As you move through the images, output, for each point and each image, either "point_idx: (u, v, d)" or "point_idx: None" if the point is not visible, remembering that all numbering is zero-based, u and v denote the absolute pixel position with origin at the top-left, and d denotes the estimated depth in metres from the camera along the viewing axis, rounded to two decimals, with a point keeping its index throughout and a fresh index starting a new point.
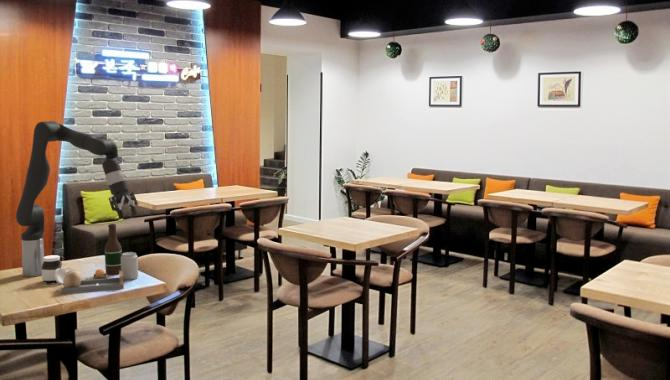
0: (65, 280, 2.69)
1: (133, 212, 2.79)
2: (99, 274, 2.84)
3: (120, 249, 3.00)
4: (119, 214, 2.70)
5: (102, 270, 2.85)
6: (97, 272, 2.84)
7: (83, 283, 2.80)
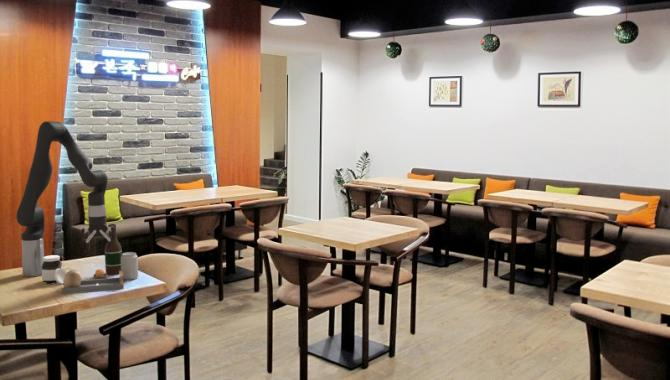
0: (65, 280, 2.69)
1: (108, 245, 2.86)
2: (99, 274, 2.84)
3: (120, 249, 3.00)
4: (86, 246, 2.83)
5: (102, 270, 2.85)
6: (97, 272, 2.84)
7: (83, 283, 2.80)
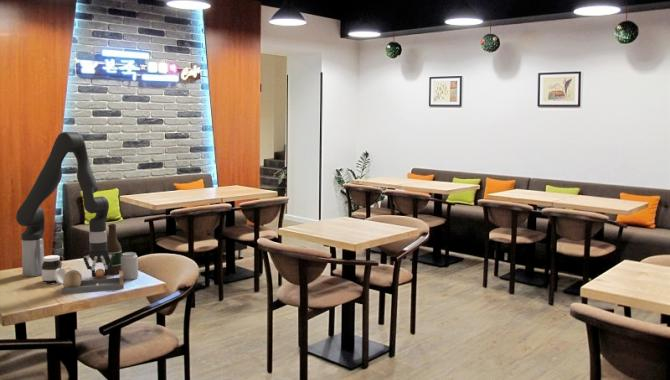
0: (65, 280, 2.69)
1: None
2: (99, 274, 2.84)
3: (120, 249, 3.00)
4: None
5: (102, 270, 2.85)
6: (97, 272, 2.84)
7: (83, 283, 2.80)
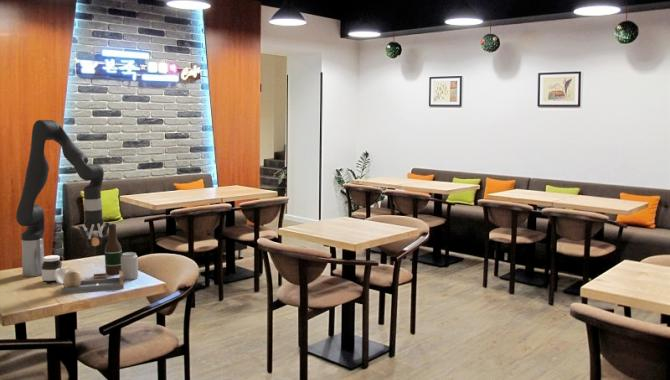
0: (65, 280, 2.69)
1: None
2: (96, 242, 2.81)
3: (120, 249, 3.00)
4: (87, 242, 2.80)
5: None
6: (93, 241, 2.81)
7: (83, 283, 2.80)
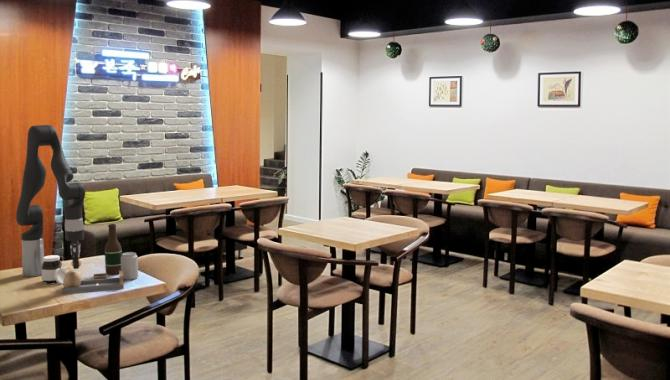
0: (65, 280, 2.69)
1: None
2: None
3: (120, 249, 3.00)
4: (76, 264, 2.70)
5: None
6: (79, 261, 2.73)
7: (83, 283, 2.80)
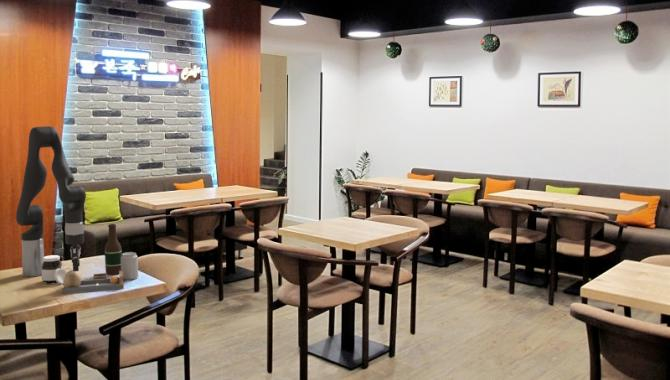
0: (65, 280, 2.69)
1: None
2: (110, 282, 2.79)
3: (120, 249, 3.00)
4: (75, 266, 2.68)
5: None
6: None
7: (83, 283, 2.80)
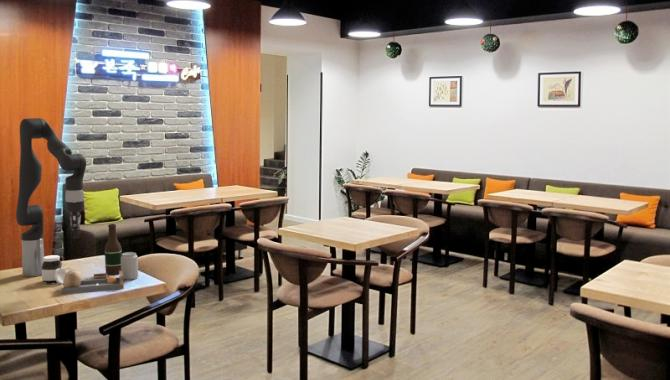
0: (65, 280, 2.69)
1: None
2: None
3: (120, 249, 3.00)
4: (75, 234, 2.69)
5: None
6: None
7: (83, 283, 2.80)
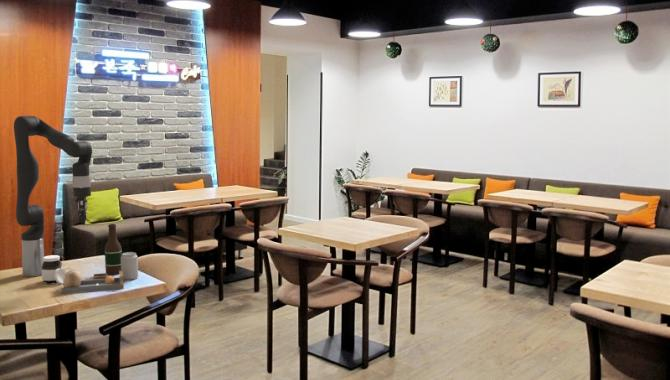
0: (65, 280, 2.69)
1: None
2: None
3: (120, 249, 3.00)
4: (83, 218, 2.77)
5: None
6: (111, 283, 2.78)
7: (83, 283, 2.80)
